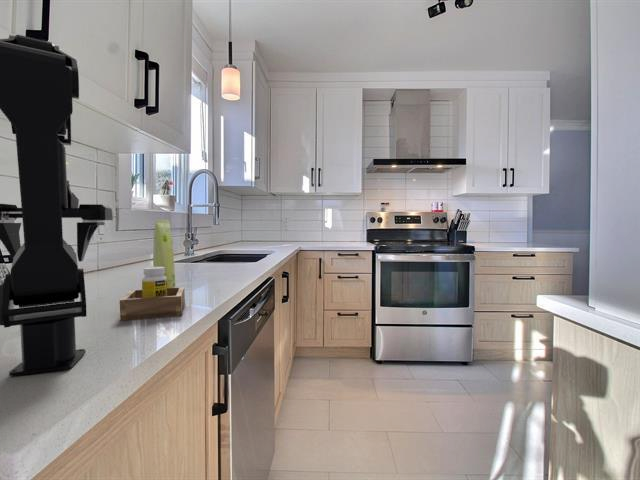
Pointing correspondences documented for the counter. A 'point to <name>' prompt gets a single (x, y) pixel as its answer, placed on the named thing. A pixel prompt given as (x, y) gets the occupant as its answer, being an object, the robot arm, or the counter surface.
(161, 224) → the tube
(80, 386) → the counter surface
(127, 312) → the walnut box
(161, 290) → the supplement bottle
